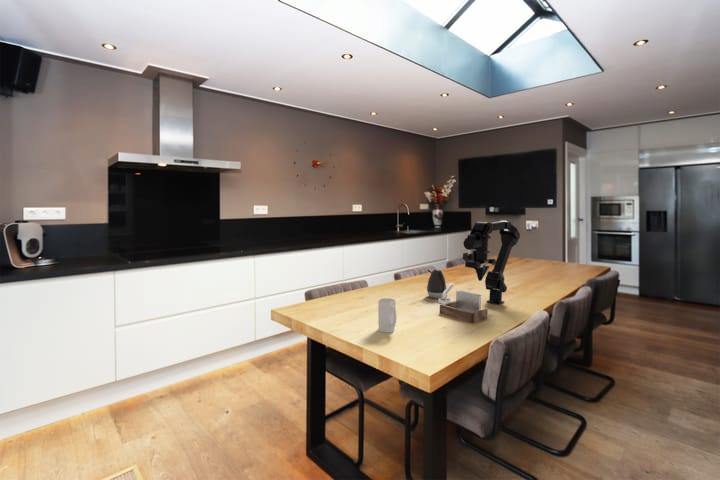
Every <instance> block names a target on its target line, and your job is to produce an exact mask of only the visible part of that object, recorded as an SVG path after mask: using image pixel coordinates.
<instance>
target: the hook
mask: <svg viewBox="0 0 720 480" xmlns="http://www.w3.org/2000/svg"><path fill="white" fill-rule="evenodd" d="M454 285H455V284H453V283H451V282H450V284H449V285H448V286H446V290H445V291H444V292H443V293H442V298H438V299H437V303H438V304H440V303H441V304H445V303H448V302H452V301H453V299H452V298H449V297H448V293H449V292H450V291H451V290H452V289H453V288H454ZM446 300H447V301H446ZM441 304H440V305H441Z"/></svg>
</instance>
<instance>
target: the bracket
mask: <svg viewBox="0 0 720 480" xmlns="http://www.w3.org/2000/svg"><path fill="white" fill-rule="evenodd" d="M455 301H456V308H457V309H460V310H464V311H468V312H471V313H473V312H477V311H480V310H482V309H481V307H482V306H481V305H482V294H478V293H473V292H469V291H464V290H461V289H457V290H456V291H455Z"/></svg>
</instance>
